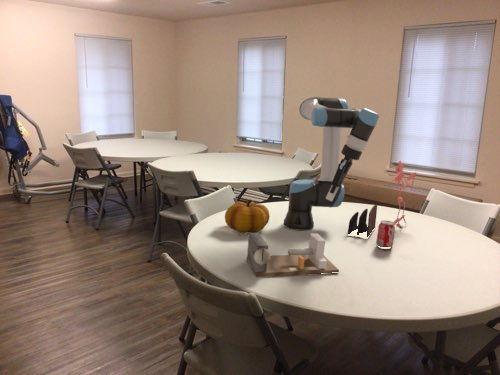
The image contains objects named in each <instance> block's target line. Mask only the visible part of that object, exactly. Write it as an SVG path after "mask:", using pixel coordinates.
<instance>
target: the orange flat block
mask: <svg viewBox="0 0 500 375" xmlns="http://www.w3.org/2000/svg"><path fill="white" fill-rule="evenodd" d="M298 267H299V268H300V269H304V258H303V257H302V256H299V257H298Z"/></svg>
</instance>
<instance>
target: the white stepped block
mask: <svg viewBox="0 0 500 375" xmlns="http://www.w3.org/2000/svg"><path fill="white" fill-rule="evenodd" d="M325 244H326V240H325V239H324V238H323V237H322V236H321V235H320V234H319V233H309V242H308V248H305V247H304V248H287V249H288V250H287V255H308V258H309V259H310V261H311V262H312V263H313V264H314V265H315V266H317V267H318V268H319V269H323V268H326V266H327V261H326V260H325V259H324V258H323V257H324V256H325Z"/></svg>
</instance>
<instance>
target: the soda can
mask: <svg viewBox="0 0 500 375" xmlns="http://www.w3.org/2000/svg"><path fill="white" fill-rule="evenodd" d="M393 222H394V221H391V220H380V222H379V223H378V226H377V227H378V228H377V234H376V235H377V236H376V244H377V245H378V246H380V247H392V248H393V245H394V239H395V232H396V225H395V226H394V223H393ZM377 245H376V246H377Z"/></svg>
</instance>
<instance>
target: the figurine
mask: <svg viewBox="0 0 500 375" xmlns="http://www.w3.org/2000/svg"><path fill="white" fill-rule="evenodd" d="M404 165H405V162H402V160H399V161H398V164H397V166H395V175H394V176H393V178H391V179H390V181H389V183H388V184H391V183H392V182H393V181H394V182H395V183H396V182H397V186H399V185H400V184H401V183H402V185H401V186H400V187H399V195H398V197H397V199H396V200H397V202H398V206H399V209H398V213H397V218H396V219H395V220H394V221H392V222H393V223H394V226H395V227H396V225H398V227H399V228H400V227H401V224H400V222H401V221H402V220H403V221H404V224H405V223H406V224H407V221H406V219H405V216H406V215H405V214H404V212H405V209H406V204H405V201H404V200H403V197H401V193H402V188H405V187H406V186H411V187H413V184H414V181H415V178H416V176H417V172H413V173H411V174H409V176H407V179H406V177H405V175H404V170H403V169H404ZM403 180H404V181H403ZM411 180H412V182H411V183H409V181H411ZM404 182H405V184H404ZM400 203H403V204H404V205H403V210H402V215H401V216H400V218H399V214H400V211H401V204H400ZM397 222H398V223H397Z"/></svg>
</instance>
